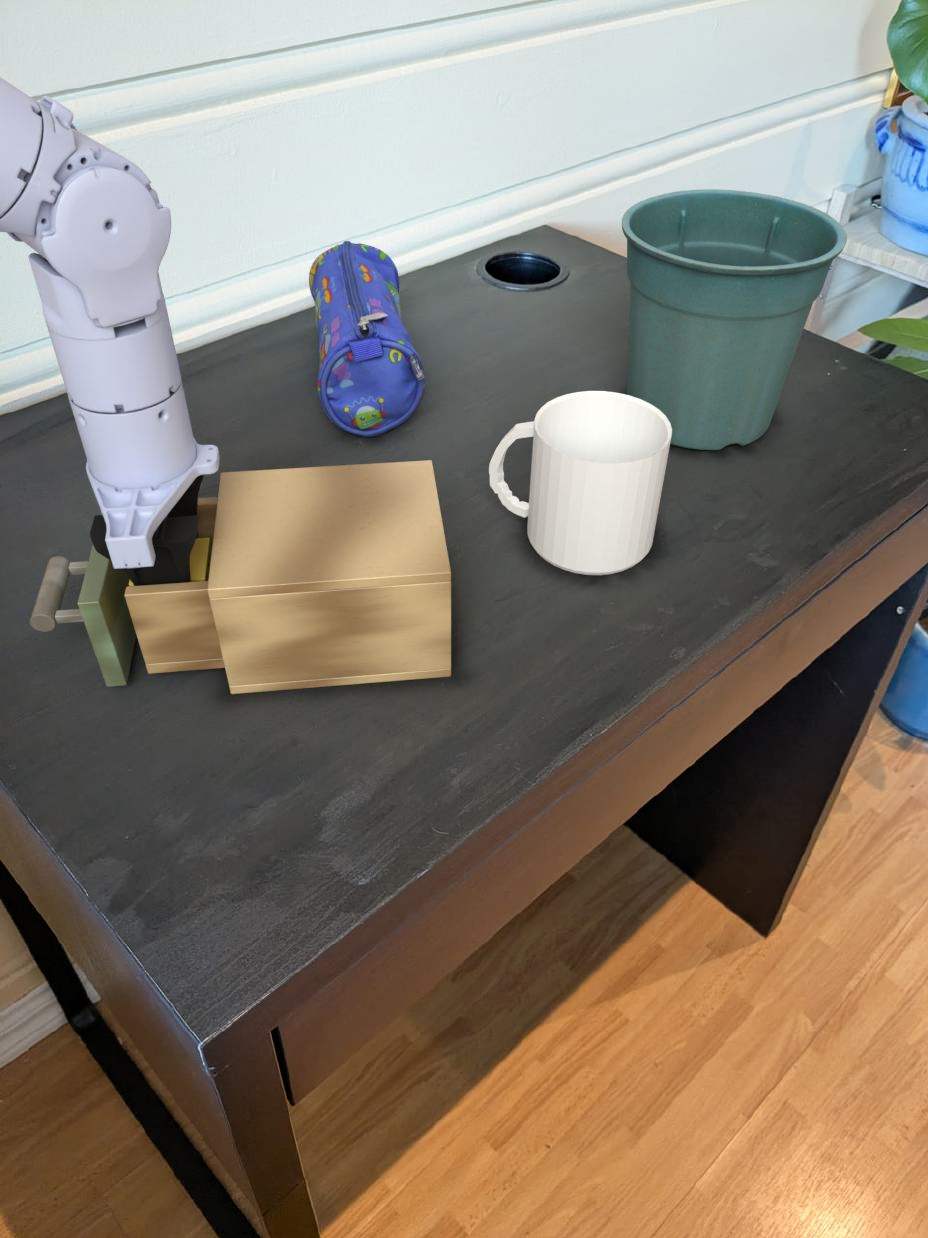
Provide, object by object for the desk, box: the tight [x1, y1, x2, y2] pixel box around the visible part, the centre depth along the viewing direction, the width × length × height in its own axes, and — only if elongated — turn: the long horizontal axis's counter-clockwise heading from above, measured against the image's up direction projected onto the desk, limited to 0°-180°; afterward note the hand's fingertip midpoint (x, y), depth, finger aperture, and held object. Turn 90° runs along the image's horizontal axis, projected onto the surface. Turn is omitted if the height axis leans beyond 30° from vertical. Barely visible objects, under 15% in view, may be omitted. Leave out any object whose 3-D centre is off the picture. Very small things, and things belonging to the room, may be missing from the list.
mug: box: [488, 390, 672, 576], centre depth 67 cm, size 12×9×9 cm
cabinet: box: [207, 459, 452, 695], centre depth 60 cm, size 13×11×8 cm
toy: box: [129, 538, 212, 586], centre depth 58 cm, size 4×4×5 cm
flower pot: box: [621, 188, 848, 451], centre depth 77 cm, size 16×16×16 cm
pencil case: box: [308, 240, 426, 438], centre depth 83 cm, size 22×9×10 cm, turn 9°
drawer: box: [29, 496, 225, 688], centre depth 59 cm, size 16×10×7 cm, turn 97°
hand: (175, 585), depth 59 cm, fingers closed on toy, 4 cm apart
